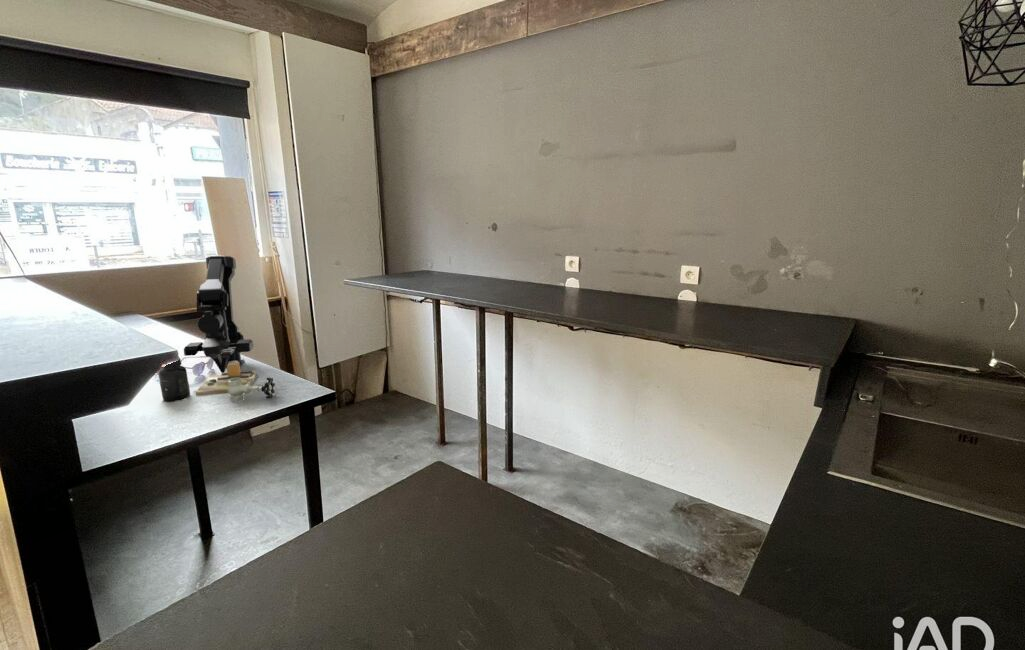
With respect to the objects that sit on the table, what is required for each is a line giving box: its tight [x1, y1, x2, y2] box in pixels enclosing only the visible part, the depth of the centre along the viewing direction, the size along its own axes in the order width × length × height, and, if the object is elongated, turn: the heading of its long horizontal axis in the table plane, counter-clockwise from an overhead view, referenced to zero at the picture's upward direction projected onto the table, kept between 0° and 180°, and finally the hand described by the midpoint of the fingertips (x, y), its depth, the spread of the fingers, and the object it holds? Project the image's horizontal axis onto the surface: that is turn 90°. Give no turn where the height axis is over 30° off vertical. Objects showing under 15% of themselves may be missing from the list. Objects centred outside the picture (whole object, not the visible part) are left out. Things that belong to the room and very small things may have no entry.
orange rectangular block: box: [226, 361, 241, 377], centre depth 159 cm, size 3×3×5 cm
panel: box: [194, 370, 258, 397], centre depth 155 cm, size 16×14×2 cm
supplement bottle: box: [158, 357, 191, 403], centre depth 143 cm, size 7×7×12 cm
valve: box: [227, 376, 276, 403], centre depth 143 cm, size 7×7×12 cm
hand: (223, 372), depth 158 cm, fingers closed
